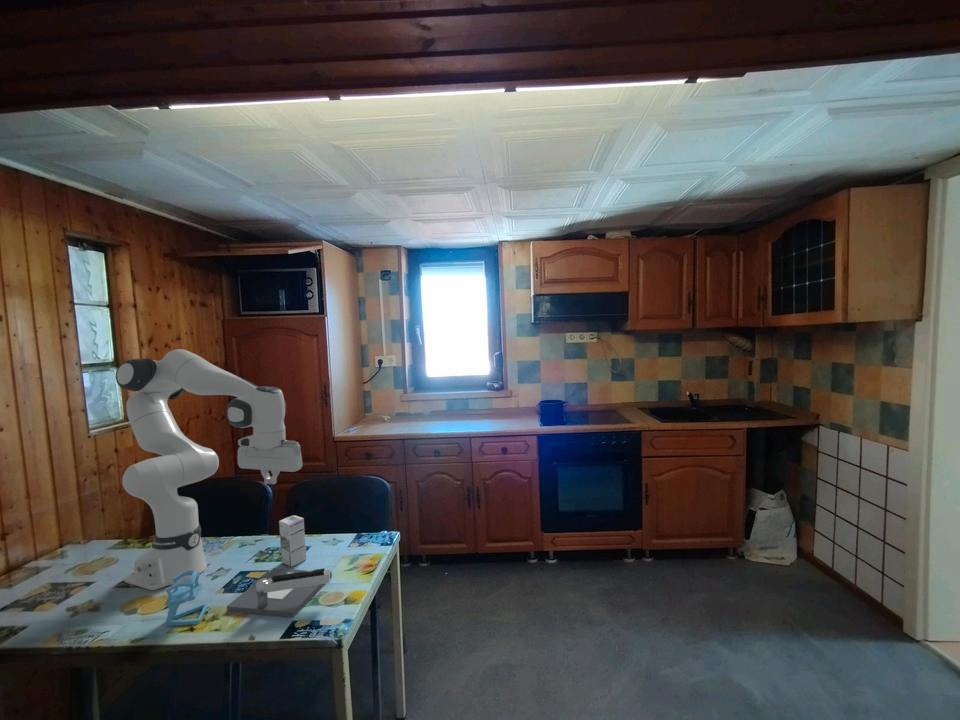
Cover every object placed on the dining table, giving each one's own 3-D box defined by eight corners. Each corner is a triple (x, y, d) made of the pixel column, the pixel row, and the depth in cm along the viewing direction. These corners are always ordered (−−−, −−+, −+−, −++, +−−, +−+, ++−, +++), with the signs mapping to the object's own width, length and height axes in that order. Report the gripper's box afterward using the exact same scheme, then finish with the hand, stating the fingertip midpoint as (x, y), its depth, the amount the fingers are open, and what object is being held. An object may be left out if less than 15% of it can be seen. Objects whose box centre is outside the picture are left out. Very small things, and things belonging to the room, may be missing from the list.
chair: (172, 614, 110) (169, 571, 109) (208, 606, 113) (205, 564, 112) (161, 632, 102) (158, 586, 102) (200, 623, 105) (196, 578, 105)
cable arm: (258, 589, 110) (257, 575, 110) (330, 578, 115) (329, 565, 114) (255, 595, 108) (254, 581, 107) (329, 584, 112) (328, 570, 112)
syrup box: (307, 559, 136) (304, 517, 135) (290, 568, 131) (288, 524, 130) (296, 555, 139) (294, 514, 139) (280, 563, 134) (278, 520, 134)
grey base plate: (227, 611, 110) (226, 593, 110) (274, 572, 128) (273, 557, 128) (293, 617, 106) (292, 599, 106) (331, 576, 125) (331, 561, 125)
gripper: (306, 438, 125) (307, 482, 126) (248, 435, 129) (249, 477, 129) (293, 443, 119) (294, 489, 119) (233, 440, 123) (234, 484, 123)
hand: (270, 483), depth 124 cm, fingers closed
